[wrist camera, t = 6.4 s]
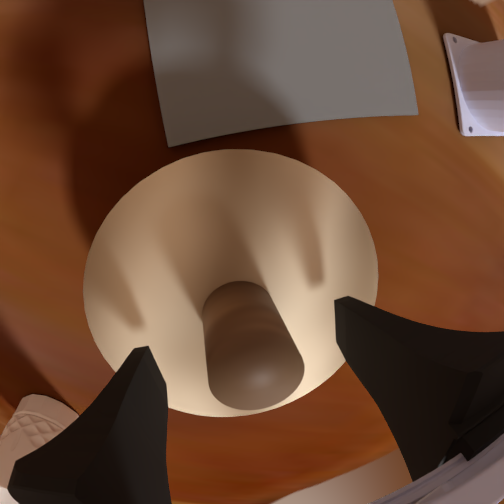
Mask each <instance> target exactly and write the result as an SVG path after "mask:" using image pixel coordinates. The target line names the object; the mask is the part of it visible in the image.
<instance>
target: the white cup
mask: <svg viewBox="0 0 504 504" xmlns="http://www.w3.org/2000/svg"><path fill="white" fill-rule="evenodd" d="M78 417H79V415H78V414H77V413H76V412H74V411H73V410H72V409H70V408H69V407H68V406H66V405H65V404H63V403H62V402H59V401H57V400H55V399H53V398H50V397H48V396H44V395H37V394H31V395H28V396H26V397H23V398H22V400H21V401H20V403H19V405H18V407H17V409H16V411H15V413H14V415H13V417H12V418H11V419H10V420H9V421H8V423H7V425H6V427H5V429H4V431H3V432H2V434H1V436H0V504H19V503H18V502H17V501H15V500H14V499H13V498H12V496H11V495H10V494H9V492H8V490H7V487H8V483H9V480H10V476H11V473H12V470H13V467H14V464H15V461H16V460H18V459H20V458H22V457H23V456H25V455H27V454H29V453H31V452H33V451H35V450H36V449H38V448H40V447H41V446H43V445H44V444H46V443H47V442H49V441H50V440H52V439H53V438H54V437H56V436H57V435H58V434H60V433H61V432H62V431H63V430H64V429H66V428H67V427H68V426H69V425H70V424H71V423H73V422H74V421H75V420H76V419H77V418H78Z"/></svg>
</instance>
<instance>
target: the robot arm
mask: <svg viewBox="0 0 504 504" xmlns="http://www.w3.org/2000/svg"><path fill="white" fill-rule="evenodd" d="M443 39H444V43H445V47H446V51H447V56H448V60H449V65H450V69H451V74H452V80H453V85H454V91H455V97H456V104H457V111H458V119H459V127H460V132H461V134H462V135H464V136H504V39H503V40H496V41H490V42H484V43H480V42H477V41H474V40H471V39H468V38H465V37H461V36H458V35H454V34H451V33H445V34H443ZM334 310H335V331H336V343H337V345H338V346H339V348H340V350H341V352H342V354H343V356H344V358H345V360H346V361H347V363H348V364H349V366H350V367H351V369H352V370H353V371H354V373H355V374H356V376H357V377H358V378H359V380H360V381H361V382H362V384H363V385H364V387H365V388H366V389H367V391H368V392H369V394H370V395H371V396H372V398H373V399H374V401H375V402H376V404H377V405H378V407H379V409H380V411H381V412H382V414H383V416H384V418H385V420H386V422H387V424H388V426H389V428H390V430H391V432H392V434H393V436H394V438H395V440H396V442H397V444H398V446H399V448H400V451H401V453H402V455H403V458H404V460H405V462H406V465H407V467H408V470H409V473H410V475H411V478H412V481H413V482H412V483H410V484H408V485H406V486H405V487H403V488H401V489H399V490H397V491H395V492H393V493H391V494H389V495H386V496H384V497H382V498H380V499H378V500H375V501H373V502H371V503H368V504H498V503H499V502H500V501H501V500H502V499H503V498H504V332H467V331H457V330H450V329H444V328H438V327H434V326H430V325H426V324H421V323H418V322H414V321H411V320H408V319H405V318H402V317H400V316H397V315H394V314H392V313H389V312H387V311H384V310H382V309H379V308H377V307H375V306H372V305H370V304H368V303H365V302H363V301H361V300H358V299H356V298H353V297H351V296H345V297H342V298H339V299H335V300H334ZM167 419H168V397H167V385H166V382H165V380H164V378H163V376H162V374H161V372H160V369H159V367H158V365H157V363H156V361H155V359H154V356H153V354H152V352H151V350H150V348H149V346H143V347H138V348H134V349H133V350H132V351H131V353H130V354H129V355H128V357H127V358H126V359H125V361H124V362H123V364H122V365H121V366H120V368H119V369H118V371H117V372H116V373H115V375H114V376H113V377H112V379H111V380H110V382H109V383H108V384H107V385H106V387H105V388H104V389H103V390H102V392H101V393H100V394H99V395H98V397H97V398H96V399H95V400H94V401H93V403H92V404H91V405H90V406H89V407H88V408H87V409H86V410H85V411H84V412H83V413H82V414H81V415H80V416H79V417H78V418H77V419H76V420H75V421H74V422H73V423H71V424H70V425H69V426H68V427H67V428H66V429H64V430H63V431H62V432H61V433H60V434H58V435H57V436H56V437H54V438H53V439H52V440H50V441H49V442H47V443H46V444H44V445H43V446H41V447H40V448H38V449H36V450H35V451H33V452H31V453H29V454H27V455H25V456H23V457H22V458H20V459H18V460H16V461H15V464H14V467H13V470H12V473H11V476H10V480H9V483H8V487H7V490H8V492H9V494H10V495H11V496H12V498H13V499H14V500H15V501H17V502H18V503H19V504H172V503H171V497H170V491H169V484H168V476H167V466H166V439H167Z"/></svg>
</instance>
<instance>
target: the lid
mask: <svg viewBox="0 0 504 504" xmlns="http://www.w3.org/2000/svg"><path fill="white" fill-rule="evenodd" d="M377 286H378V264H377V256H376V251H375V246H374V242H373V239H372V237H371V234H370V231H369V228H368V226H367V224H366V222H365V220H364V218H363V217H362V215H361V213H360V211H359V210H358V208H357V207H356V206H355V204H354V203H353V202H352V200H351V199H350V198H349V197H348V195H347V194H346V193H345V192H344V191H343V190H341V189H340V188H339V187H338V186H337V185H336V184H335V183H334V182H333V181H332V180H330V179H329V178H327V177H326V176H325V175H323V174H322V173H320V172H319V171H317V170H316V169H314V168H312V167H310V166H308V165H306V164H304V163H302V162H300V161H298V160H295V159H292V158H288V157H285V156H282V155H279V154H276V153H270V152H264V151H258V150H247V149H225V150H217V151H209V152H203V153H200V154H196V155H193V156H189V157H186V158H182V159H180V160H178V161H175V162H173V163H171V164H169V165H167V166H164V167H162V168H160V169H159V170H157V171H156V172H154V173H153V174H151V175H150V176H148V177H146V178H145V179H143V180H142V181H140V182H139V183H138V184H137V185H135V186H134V187H133V188H132V189H131V190H130V191H129V192H128V193H126V194H125V195H124V196H123V197H122V198H121V199H120V200H119V202H118V203H117V204H116V205H115V206H114V208H113V209H112V210H111V211H110V212H109V214H108V215H107V217H106V218H105V220H104V221H103V223H102V225H101V227H100V228H99V230H98V232H97V233H96V236H95V238H94V241H93V243H92V246H91V248H90V251H89V254H88V258H87V262H86V267H85V271H84V285H83V295H84V307H85V312H86V317H87V321H88V325H89V328H90V330H91V333H92V335H93V338H94V340H95V343H96V344H97V346H98V348H99V350H100V351H101V353H102V355H103V356H104V358H105V359H106V361H107V362H108V363H109V364H110V366H111V367H112V368H113V370H114V371H115V372H117V371H118V369H119V368H120V366H121V365H122V364H123V362H124V361H125V359H126V358H127V357H128V355H129V354H130V353H131V351H132V350H133V349H134V348H138V347H143V346H149V348H150V350H151V352H152V354H153V356H154V359H155V361H156V363H157V365H158V367H159V369H160V372H161V374H162V376H163V378H164V380H165V382H166V385H167V397H168V407H169V408H172V409H176V410H179V411H182V412H186V413H191V414H196V415H202V416H212V417H234V416H244V415H250V414H255V413H260V412H264V411H268V410H271V409H274V408H278V407H280V406H282V405H285V404H287V403H290V402H292V401H294V400H296V399H298V398H300V397H302V396H304V395H305V394H307V393H309V392H310V391H312V390H313V389H315V388H316V387H318V386H319V385H320V384H322V383H323V382H324V381H325V380H327V379H328V378H329V377H330V376H331V375H333V374H334V373H335V372H336V371H337V370H338V369H339V368H340V367H341V365H342V364H343V363H344V362H345V361H346V360H345V358H344V356H343V354H342V352H341V350H340V348H339V346H338V345H337V343H336V331H335V310H334V300H335V299H339V298H342V297H345V296H351V297H353V298H356V299H358V300H361V301H363V302H365V303H368V304H370V305H372V306H374V305H375V300H376V295H377Z"/></svg>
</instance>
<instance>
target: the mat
mask: <svg viewBox="0 0 504 504" xmlns="http://www.w3.org/2000/svg"><path fill="white" fill-rule="evenodd" d="M144 8H145V15H146V23H147V30H148V37H149V44H150V50H151V56H152V63H153V69H154V75H155V80H156V86H157V92H158V97H159V103H160V108H161V113H162V118H163V123H164V128H165V133H166V138H167V143H168V147H173V146H177V145H181V144H185V143H190V142H194V141H199V140H203V139H208V138H213V137H218V136H223V135H228V134H233V133H238V132H244V131H250V130H256V129H262V128H268V127H275V126H282V125H289V124H296V123H304V122H313V121H322V120H332V119H344V118H357V117H373V116H397V115H418V109H417V102H416V96H415V90H414V85H413V79H412V74H411V69H410V64H409V60H408V55H407V51H406V47H405V43H404V39H403V35H402V31H401V28H400V24H399V21H398V17H397V14H396V11H395V8H394V4H393V1H392V0H144Z"/></svg>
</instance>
